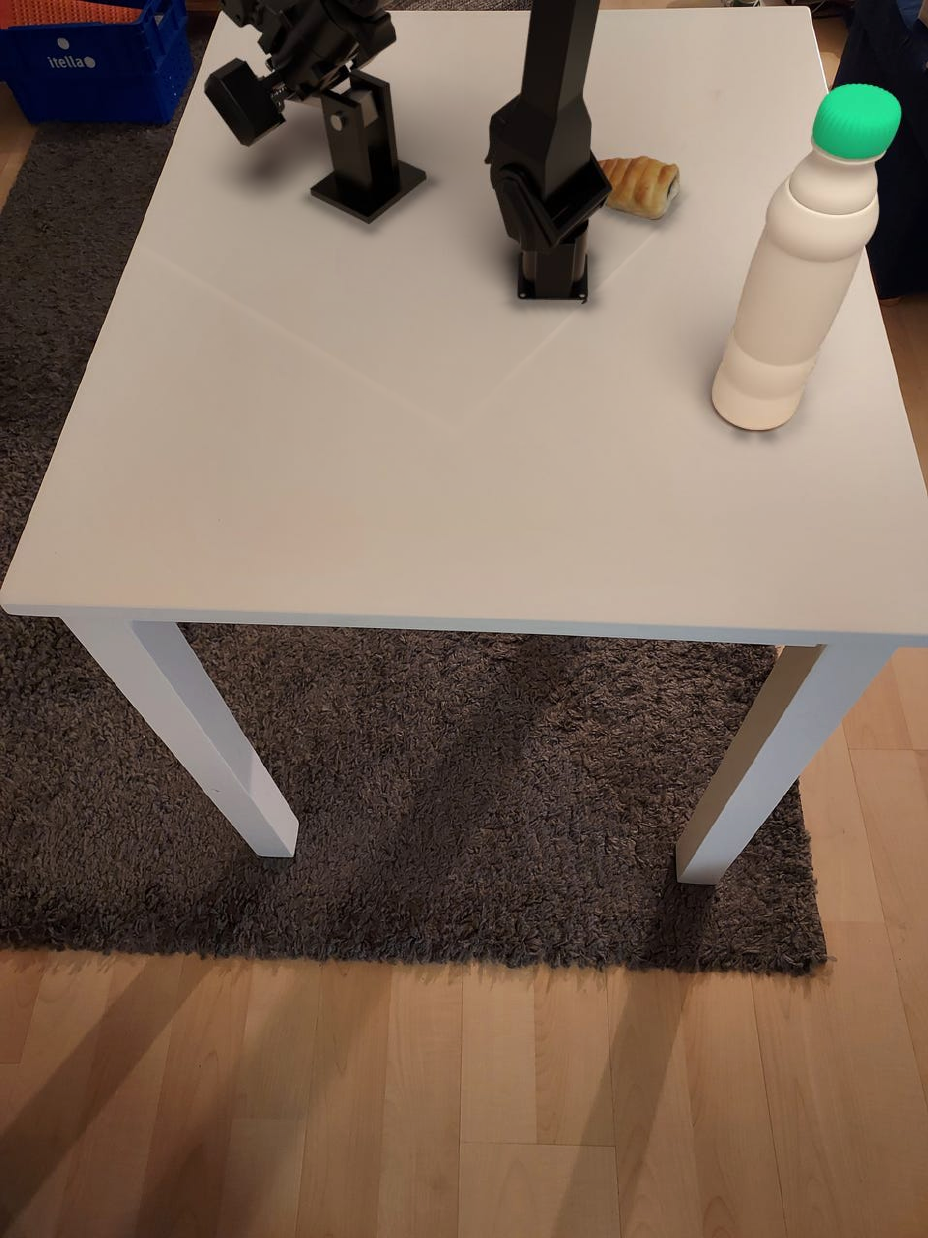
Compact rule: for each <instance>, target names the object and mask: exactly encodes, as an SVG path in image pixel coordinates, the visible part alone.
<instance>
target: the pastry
mask: <svg viewBox="0 0 928 1238" xmlns="http://www.w3.org/2000/svg"><path fill="white" fill-rule="evenodd" d="M597 161H598V163H599V164H600V166H601V168H602V170H603V171H604V173H605V175H606V177H607V178H608V180H609V182H610V184H611V186H612V188H613V190H612V192H611V194H610V196H609V198H608V200H607V202H606V204H605V205H607V206H608V207H609V208H610V209H612V210H613V209H614V210H618V211H622V212H626V213H628V214H630V215H633V216H636V217H641V218H647V219H649V220H658V219H660V218H661V217H662V216H663V215H664V214H666V213H667V210H668V208H669V207H670V205H671V201H672V200H673V199H675V198H676V196H677V195H678V193H679V191H680V187H681V181H680V180H681V179H680V178H681V173H680V168H679V167H678V165H677V164H676V163H671V164H668V163H666V162H663V161H661V160H658V159H656V158H650V157H649V156H647V155H639V156H638V157H634V158H633V157H628V158H623V157H614V158H608V159H599V160H597Z"/></svg>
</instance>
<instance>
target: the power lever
mask: <svg viewBox="0 0 928 1238" xmlns="http://www.w3.org/2000/svg"><path fill="white" fill-rule="evenodd" d="M284 85H285V84H283V85H281V86H280V87H278V88H277V89H275V90H274V91H276V90H277V91H278V89H279V88H280V89H281V87H282V86H283V87H284ZM320 92H321V91H318V92H317V93H315V94H314V95H312V96H311V97H309V98H308V99H307V100H305V101H304V102H302V101H301V100H300V98H299V97H298V95H297V94H296V93H295V94H293V95H292V96H291V97H289V98H288V99H286V100H285V101H288V102H294V103H297V104H302V105H305V106H311V107H314V108H320V109H322V105H321V100H320V94H319V93H320ZM340 94H341V95H343V96H345V97H348V98H350V99H352V100H354V101H357V102H359V103H361V106H362V113H363V120H364V127H366V126H367V125H369V124H370V123H371V122H373V121H374V120H376V119H377V118H378V113H377V109H376V105H375V101H374V97H373V92H372V91H370V90H365V89H360V88H355V87H348V88H347V89H345V91H343V92H341V93H340Z"/></svg>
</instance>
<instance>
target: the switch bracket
mask: <svg viewBox="0 0 928 1238" xmlns="http://www.w3.org/2000/svg"><path fill="white" fill-rule="evenodd" d="M348 74H349V78H348V80H349V86H350V87H355V88H360V89H365V90H370V91H372V92H373V97H374V101H375V105H376V109H377V113H378V118H377V119H376V120H374V121H373V122H371V123H370V124H369V125H367V126H366V127H364V120H363V113H362V106H361V103H359V102H357V101H354V100H352V99H350V98H348V97H345V96H343V95H341V94H342V93H339V92H336V91H334V90H333V89H331V90H330V89H327V88H326V89H324V90H323V91H321V92H320V93H319V94H320V100H321V105H322V108H321V110H322V116H323V121H324V127H325V132H326V137H327V143H328V148H329V154H330V159H331V165H332V170H333V171H331V172H330V173H329V174H327V175H325V177H323V178H322V179H320V180H319V181H318V182H317V183H315V184H313V186H312V187H310V188H309V190H310V195H311V196H312V197H314V198H316V199H318V200H321V201H322V202H324V203H326V204H328V205H330V206H331V207H334V208H336V209H338V210H340V211H342V212H344V213H346V214H347V215H350V216H351V217H353V218H356V219H358V220H360V221H361V222H364V223H366V224H368V225H371V223H373V222H374V221H375V220H376V219H378V218H379V217H380V216H382V215H383V214H384V213H385V212H387V211H388V210H389V209H391V208H392V207H393V206H394V205H395V204H397V203H398V202H399V201H401V199H403V198H404V197H405V196H407V195H408V194H409V193H410V192H412V191H413V190H414V189H416V188H417V187H418V186H419V185H420V184H422V183H423V182H424V181H425V180H426V179H427V171H425V170H423V169H421V168H419V167H416V166H414V165H412V164H410V163H407V162H406V161H403V160H402V159H399V155H398V146H397V145H398V144H397V138H396V128H395V127H396V126H395V118H394V110H393V109H394V108H393V101H392V91H391V84H390V82H388V81H386V80H384V79H381V78H379V77H377V76H374V75H372V74H369V73H367V72H365V71H363V70H358V69H353V70H352V71H351V70H350V71H349V73H348ZM350 87H349V88H350Z"/></svg>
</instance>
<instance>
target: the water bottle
mask: <svg viewBox="0 0 928 1238" xmlns="http://www.w3.org/2000/svg"><path fill="white" fill-rule="evenodd" d="M901 119H902V107H901V105H900V101H899V100H898V99H897V97H895V96H894V94H893V93H891V92H889V91H888V90H885V89H884V88H881V87H879V86H876V85H875V86H874V85H873V84H867V83H864V84H862V83H857V84H856V83H851V84H850V83H847V84H845V85H840V86H837V87H834V88H833V89H832V90H831V91H829V92H828V93H827V94H826V95H825V96H824V97H823V99H822V100H821V102H820V104H819V106H818V108H817V111H816V114H815V117H814V120H813V123H812V128H811V133H812V134H811V136H810V144H811V146H812V150H811V151H810V152H809V153H808V154H807V155H806V156H805V157H804V158H802V159H801V160H800V161H799V163H797V164H796V166H795V167H794V169H793V171H792V172H791V173H790V174H789V175H788V176H787V177H786V178H784V180H783V181H782V182H781V183H780V184H779V185H778V186H777V188H776V189H775V191H774V192H773V194H772V196H771V197H770V199H769V202H768V205H767V208H766V212H765V224H764V227H763V229H762V231H761V233H760V237H759V239H758V241H757V244H756V247H755V249H754V253H753V255H752V257H751V261H750V264H749V267H748V271H747V273H746V277H745V281H744V283H743V287H742V291H741V294H740V298H739V302H738V306H737V310H736V315H735V320H734V325H733V326H732V328H731V329H730V331H729V334H728V337H727V338H726V342H725V346H724V350H723V355H722V360H721V363H720V364H719V366H718V368H717V372H716V375H715V378H714V380H713V383H712V388H711V399H712V400H711V401H712V403H713V406H714V408H715V409H716V411H717V413H719V415H720V416H721V417H722V418H723V419H725V420H726V421H728V422H729V423H731V424H732V425H734V426H736V427H738V428H742V429H746V430H751V431H765V430H770V429H771V430H772V429H775V428H777V427H780V426H781V425H783V424H785V423H786V422H788V421H789V420H790V419H791V418H792V416H793V415H794V414H795V412H796V410H797V409H798V406H799V403H800V401H801V399H802V396H803V394H804V390H805V387H806V382H808V380H809V378H810V377H811V375H812V374H813V373H812V372H813V371H814V369H815V367H816V364H817V362H818V359H819V356H820V352H821V346H822V345H823V343H824V341H825V339H826V338H827V336H828V334H829V332H830V330H831V328H832V327H833V324H834V322H835V320H836V318H837V316H838V314H839V312H840V310H841V307H842V305H843V303H844V300H845V298H846V296H847V293H848V291H849V290H850V286H851V284H852V281H853V279H854V277H855V274H856V271H857V269H858V266H859V263H860V261H861V257H862V255H863V251H864V248H865V246H866V245H867V244H868V243H869V242H870V240H871V238H872V236H874V233H875V231H876V228H877V225H878V222H879V215H880V204H879V195H878V182H879V181H878V175H877V170H876V167H875V165H876V162H877V161H878V160H880V159H881V158H883V156H884V155H885V154H886V152H887V149H888V148H889V147H890V146H891V145H892V142H893V141H894V139H895V137H896V135H897V133H898V129H899V126H900V123H901Z"/></svg>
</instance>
